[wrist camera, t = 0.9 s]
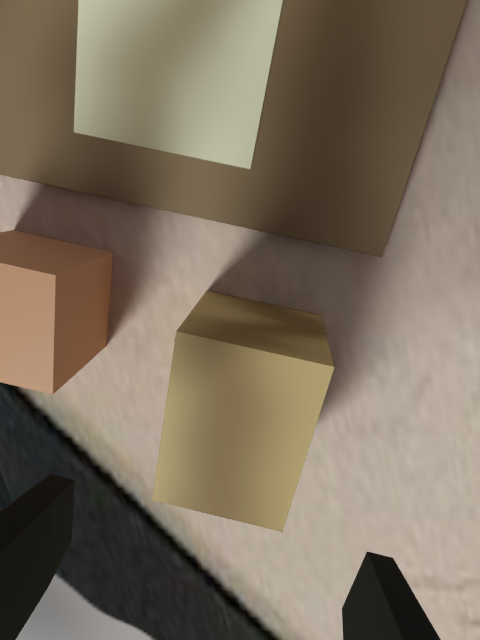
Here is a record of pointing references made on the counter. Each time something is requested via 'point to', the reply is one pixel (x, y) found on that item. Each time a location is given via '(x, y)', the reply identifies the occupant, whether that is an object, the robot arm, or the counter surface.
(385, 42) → the brown wooden board
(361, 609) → the robot arm
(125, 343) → the counter surface
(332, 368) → the oak block
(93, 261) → the terracotta cube
